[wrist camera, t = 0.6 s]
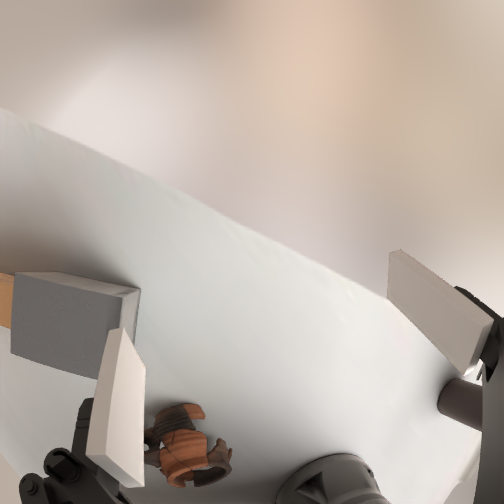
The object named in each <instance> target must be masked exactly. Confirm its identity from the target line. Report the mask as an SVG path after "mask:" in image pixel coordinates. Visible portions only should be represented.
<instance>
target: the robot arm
mask: <svg viewBox="0 0 504 504" xmlns="http://www.w3.org/2000/svg"><path fill="white" fill-rule="evenodd" d="M388 269H389V270H388V288H387V298H388V299H389V300H390V301H391V302H392V303H393V304H394V305H395V306H396V307H397V308H398V309H399V310H400V311H401V312H402V313H403V314H404V315H405V316H406V317H407V318H408V319H409V320H410V321H411V322H412V323H413V324H414V325H415V326H416V327H417V328H418V329H419V330H420V331H421V332H422V333H423V334H424V335H425V336H426V337H427V338H428V339H429V340H430V341H431V342H432V343H433V344H434V345H435V346H436V347H437V348H438V349H439V351H440V352H441V353H442V354H443V355H444V356H445V357H446V358H447V359H448V360H449V361H450V362H451V363H452V364H453V365H454V366H455V367H456V369H457V370H458V371H459V372H460V373H461V374H462V375H463V376H465V375H467V374H468V373H469V372H471V371H472V370H474V369H475V368H476V366H477V363H478V361H479V358H480V359H481V360H482V361H483V364H482V367H481V369H480V371H479V373H478V375H477V379H476V380H479V378H480V376H481V374H482V388H483V420H482V441H481V453H480V463H479V472H478V480H477V486H476V492H475V497H474V502H473V504H504V318H502V317H500V316H499V315H498V314H497V313H495V312H494V311H493V310H492V309H490V308H489V307H488V306H487V305H485V304H484V303H482V302H480V300H479V299H478V298H476V297H474V296H473V295H472V294H471V293H470V292H468V291H467V290H465V289H463V288H460V287H458V286H455V287H452V286H451V285H450V284H448V283H447V282H446V281H444V280H443V279H442V278H440V277H439V276H438V275H436V274H435V273H434V272H432V271H431V270H429V269H428V268H426V267H425V266H424V265H422V264H421V263H420V262H418V261H417V260H415V259H414V258H413V257H411V256H410V255H408V254H407V253H405V252H404V251H403V250H401V249H400V250H397V251H394V252H391V253H389V268H388ZM145 378H146V367H145V366H144V364H143V362H142V360H141V359H140V357H139V355H138V353H137V351H136V350H135V348H134V346H133V344H132V342H131V340H130V338H129V336H128V335H127V333H126V331H125V329H124V327H122V328H117V329H113V330H109V333H108V337H107V341H106V345H105V349H104V354H103V358H102V362H101V367H100V372H99V376H98V381H97V386H96V391H95V396H94V398H87V399H85V400H84V401H83V403H82V405H81V406H80V408H79V412H78V417H77V420H78V421H77V422H76V429H75V433H74V439H73V445H72V451H71V452H70V451H68V450H67V449H65V448H55V449H54V450H52V451H50V452H49V453H48V454H47V456H46V458H45V460H44V471H45V473H46V474H47V475H49V476H50V477H47V478H44V479H43V478H41V477H40V476H39V475H37V474H34V473H29V474H27V475H25V476H24V477H23V478H22V479H21V481H20V484H19V493H20V497H21V501H22V504H132V503H131V502H130V500H129V499H128V498H127V497H126V496H125V495H124V494H123V493H122V492H121V491H119V483H121V484H122V485H123V486H125V487H126V488H132V487H145V486H144V399H145ZM276 504H391V503H390V502H389V501H387V500H386V499H385V498H384V497H383V496H382V495H381V493H380V490H379V488H378V485H377V482H376V480H375V478H374V475H373V472H372V470H371V468H370V467H369V466H368V465H367V464H366V463H365V462H364V461H363V460H362V459H360V458H359V457H357V456H354V455H350V454H337V455H331V456H327V457H324V458H321V459H318V460H316V461H314V462H312V463H310V464H308V465H306V466H305V467H303V468H301V469H300V470H299V471H297V472H296V473H295V474H294V475H292V476H291V477H290V478H289V479H288V480H287V481H286V482H285V484H284V485H283V486H282V488H281V489H280V491H279V493H278V496H277V499H276Z"/></svg>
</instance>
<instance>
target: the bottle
mask: <svg viewBox="0 0 504 504" xmlns="http://www.w3.org/2000/svg"><path fill="white" fill-rule="evenodd" d="M438 408H439V411H440V412H441V414H443V415H446V416H448V417H450V418H452V419H454V420H456V421H459V422H461V423H463V424H465V425H467V426H470V427H472V428H474V429H476V430H479V431H481V432H482V420H483V388H482V386H480V385H476V384H473V383H470V382H467V381H464V380H461V379H453V380H452V381H450V382H449V383H448V384H447V385H446V386H445V388H444V389H443V391H442V393H441V395H440V398H439V402H438Z"/></svg>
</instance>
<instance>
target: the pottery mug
mask: <svg viewBox="0 0 504 504" xmlns="http://www.w3.org/2000/svg"><path fill="white" fill-rule="evenodd" d="M191 419H205V414H204V412H203V411H202V409H201V407H200V406H199V405H195V404H184V405H177V406H172V407H169V408H166V409H164V410H162V411H161V412H160V413H159V414H158V415H157V416H156V420H155V423H154V426H153V427H150V428H149V429H146V430H144V444H147V445H148V447H149V450H147V451H144V464H148V465H153V466H155V467H156V468H159V467H161V469H160V472H161V473H162V474H164V475H165V476H166V478H167V482H168V483H169V484H170V485H171V486H174V487H179V488H184V487H186V484H185V482H184V481H192V480H194V486H195V487H200V486H205V485H209V484H212V483H214V482H217V481H219V480H221V479H223V478H224V477H226V476H227V475H228V474H229V473H230V472H231V469H232V468H231V466H230V465H229V462H230V459H231V456H232V448H230V449H229V450H228V449H227V447H226V442H225V441H224V440H222V439H220V438H218V439H217V441H216V445H215V446H214V448H213V449H212V450H211V451H210V452H208V453H207V454H206V452H207V438H206V437H205V435H204V434H203V433H202V432H199V431H196V428H195V427H194V425H193V424H192V422H191ZM161 441H162V442H163V444H164V446H165V447H163V448H161V449H160V448H159V447H160V443H161ZM208 466H209V467H212V468H210V469H207V470H192V469H197V468H202V467H208Z"/></svg>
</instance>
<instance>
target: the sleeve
mask: <svg viewBox="0 0 504 504" xmlns="http://www.w3.org/2000/svg"><path fill="white" fill-rule="evenodd" d="M140 293H141V289H137V288H132V287H127V286H122V285H117V284H112V283H107V282H103V281H98V280H93V279H89V278H84V277H79V276H75V275H71V274H66V273H62V272H15V276H14V286H13V297H12V312H11V353H12V354H15V355H17V356H20V357H23V358H26V359H29V360H31V361H34V362H37V363H40V364H44V365H47V366H50V367H53V368H56V369H60V370H63V371H66V372H70V373H74V374H77V375H81V376H85V377H89V378H93V379H97V380H98V376H99V372H100V367H101V362H102V358H103V354H104V349H105V345H106V341H107V337H108V333H109V330H113V329H117V328H122V327H124V329H125V331H126V333H127V335H128V336H129V338H130V340H131V342H132V344H133V346H134V341H135V332H136V323H137V315H138V307H139V300H140Z"/></svg>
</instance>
